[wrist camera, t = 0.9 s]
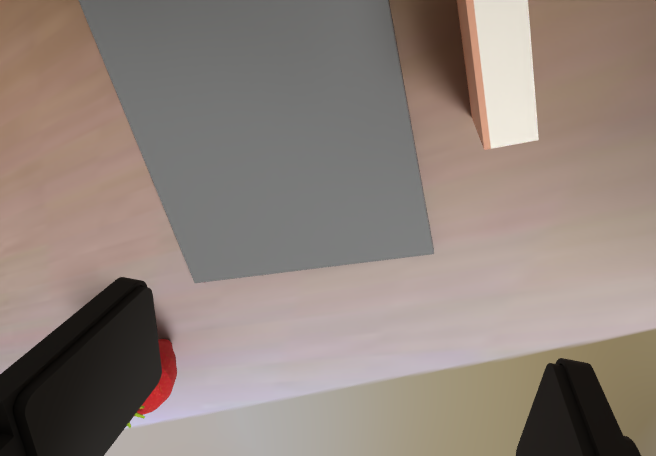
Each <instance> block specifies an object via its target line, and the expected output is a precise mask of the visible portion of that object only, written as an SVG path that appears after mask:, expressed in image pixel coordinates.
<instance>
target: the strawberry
mask: <svg viewBox="0 0 656 456" xmlns="http://www.w3.org/2000/svg"><path fill="white" fill-rule="evenodd" d="M158 342H159V350H160V358H161V366H162V375H161V378H160V381H159V383H158V385H157V386H156V387H155V389H154V390H153V391H152V393H151V394H150V395H149V397H148V398H147V399H146V401H145V402H144V403H143V405H142V406H141V407H140V409H139V410H138V411H137V412H136V414H135V415H134V416H137V417H141V418H145V416H143V414H147V413H150V412H152V411H154V410H155V409H157V408H158V407H159V406H160V405H161V404H162V403H163V402H164V401H165V400H166V399H167V398H168V397H169V395H170V394H171V391H172V388H173V385H174V382H175V379H176V376H177V368H176V357H175V354H174V351H173V348H172V343H171V342H170V341H169V340H167V339H159V340H158ZM127 426H128V427H129V428H130V427H131V424H130V422H129V423H128V424H127Z"/></svg>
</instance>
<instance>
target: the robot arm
mask: <svg viewBox="0 0 656 456" xmlns="http://www.w3.org/2000/svg"><path fill="white" fill-rule="evenodd" d="M161 375H162V366H161V358H160V350H159V342H158V334H157V326H156V318H155V310H154V302H153V294H152V290H151V289H150V288H147V284H146V283H145V282H144V281H141V280H135V279H130V278H125V277H120V278H118V279H116V280H115V281H114V282H113V283H112V284H110V285H109V286H108V287H107V288H105V289H104V290H103V291H102V292H101V293H99V294H98V295H97V296H96V297H94V298H93V299H92V300H91V301H90V302H88V303H87V304H86V305H85V306H83V307H82V308H81V309H80V310H79V311H77V312H76V313H75V314H74V315H72V316H71V317H70V318H69V319H68V320H66V321H65V322H64V323H63V324H61V325H60V326H59V327H58V328H57V329H55V330H54V331H53V332H52V333H50V334H49V335H48V336H47V337H46V338H44V339H43V340H42V341H41V342H39V343H38V344H37V345H36V346H35V347H33V348H32V349H31V350H30V351H28V352H27V353H26V354H25V355H24V356H22V357H21V358H20V359H19V360H17V361H16V362H15V363H14V364H13V365H11V366H10V367H9V368H8V369H6V370H5V371H4V372H3V373H2V374H0V456H104V455H105V453H106V452H107V451H108V449H109V448H110V447H111V445H112V444H113V443H114V441H115V440H116V439H117V438H118V436H119V435H120V434H121V432H122V431H123V430H124V428H125V427H126V426H127V424H128V423H129V422H130V420H131V419H132V418H133V416H134V415H135V414H136V412H137V411H138V410H139V409H140V407H141V406H142V405H143V403H144V402H145V401H146V399H147V398H148V397H149V395H150V394H151V393H152V391H153V390H154V389H155V387H156V386H157V385H158V383H159V381H160V378H161ZM516 456H641V455H640V453H639V450H638V448H637V447H636V445H635V443H634V442H633V441H632V440H631V439H630V438H629V437H627V436H623V434H622V432H621V430H620V428H619V425H618V423H617V421H616V419H615V417H614V415H613V412H612V410H611V408H610V405H609V403H608V401H607V399H606V397H605V394H604V392H603V390H602V388H601V386H600V383H599V381H598V379H597V377H596V375H595V372H594V370H593V368H592V366H591V365H590V364H588V363H584V362H579V361H573V360H568V359H563V358H560V359H558V360H557V362H556V364H552V363H549V364H548V365H547V366H546V369H545V371H544V374H543V377H542V380H541V382H540V385H539V388H538V391H537V394H536V397H535V399H534V402H533V405H532V408H531V410H530V413H529V416H528V419H527V421H526V424H525V427H524V430H523V433H522V435H521V438H520V441H519V444H518V446H517V450H516Z"/></svg>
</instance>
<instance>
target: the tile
mask: <svg viewBox="0 0 656 456" xmlns="http://www.w3.org/2000/svg"><path fill="white" fill-rule="evenodd" d="M457 6H458V14H459V22H460V29H461V37H462V45H463V53H464V60H465V68H466V76H467V83H468V91H469V99H470V106H471V114H472V119H473V122H474V124H475V127H476V129H477V132H478V135H479V137H480V140H481V142H482V145H483V148H484V150H486V149H492V148H497V147H503V146H508V145H514V144H519V143H525V142H530V141H536V140H539V139H538V126H537V113H536V100H535V87H534V74H533V61H532V48H531V35H530V22H529V10H528V0H457Z"/></svg>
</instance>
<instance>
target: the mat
mask: <svg viewBox="0 0 656 456" xmlns="http://www.w3.org/2000/svg"><path fill="white" fill-rule="evenodd" d="M79 2H80V5H81V7H82V10H83V12H84V15H85V17H86V19H87V22H88V24H89V27H90V29H91V32H92V34H93V37H94V39H95V41H96V44H97V46H98V49H99V51H100V54H101V56H102V58H103V61H104V63H105V66H106V68H107V71H108V73H109V76H110V78H111V80H112V83H113V85H114V88H115V90H116V93H117V95H118V97H119V100H120V102H121V105H122V107H123V110H124V112H125V114H126V117H127V119H128V122H129V124H130V127H131V129H132V132H133V134H134V136H135V139H136V141H137V144H138V146H139V149H140V151H141V153H142V156H143V158H144V161H145V163H146V166H147V168H148V170H149V173H150V175H151V178H152V180H153V183H154V185H155V188H156V190H157V192H158V195H159V197H160V200H161V202H162V205H163V207H164V209H165V212H166V214H167V217H168V219H169V222H170V224H171V226H172V229H173V231H174V234H175V236H176V239H177V241H178V244H179V246H180V248H181V251H182V253H183V256H184V258H185V261H186V263H187V265H188V268H189V270H190V273H191V275H192V278H193V280H194V283H201V282H209V281H217V280H225V279H233V278H242V277H250V276H258V275H266V274H274V273H282V272H291V271H299V270H307V269H315V268H323V267H331V266H340V265H348V264H356V263H364V262H372V261H380V260H389V259H397V258H405V257H413V256H421V255H429V254H434V248H433V243H432V237H431V231H430V226H429V220H428V215H427V209H426V204H425V198H424V193H423V187H422V182H421V176H420V171H419V165H418V159H417V154H416V148H415V143H414V137H413V132H412V126H411V121H410V115H409V110H408V104H407V99H406V93H405V87H404V82H403V76H402V71H401V65H400V60H399V54H398V49H397V43H396V38H395V32H394V27H393V21H392V15H391V10H390V4H389V0H79Z"/></svg>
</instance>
